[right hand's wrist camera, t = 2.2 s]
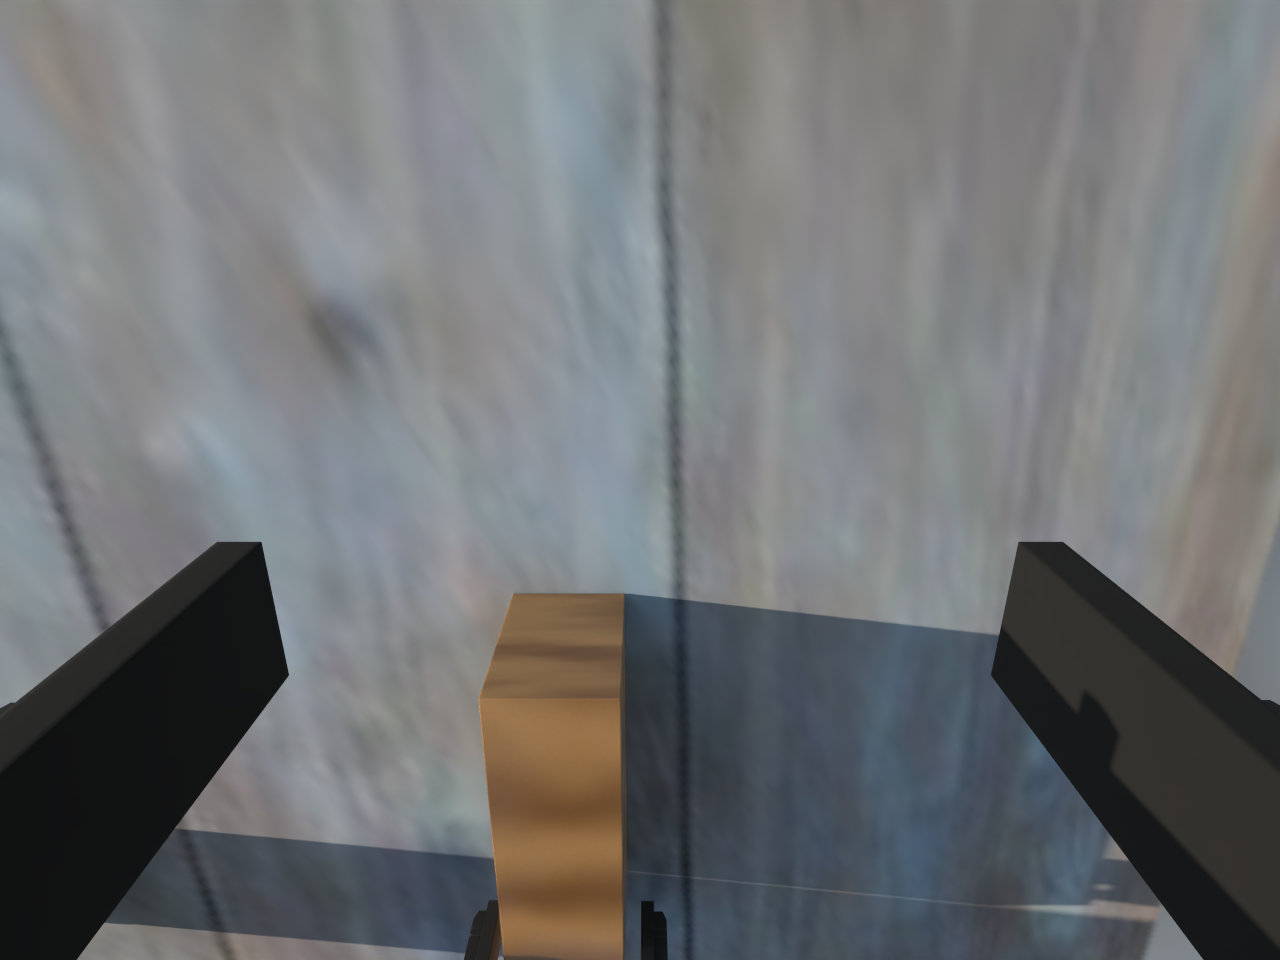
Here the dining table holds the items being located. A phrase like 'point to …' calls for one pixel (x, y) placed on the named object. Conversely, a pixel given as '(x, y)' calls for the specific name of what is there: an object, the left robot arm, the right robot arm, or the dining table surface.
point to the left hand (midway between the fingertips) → (572, 910)
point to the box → (559, 776)
